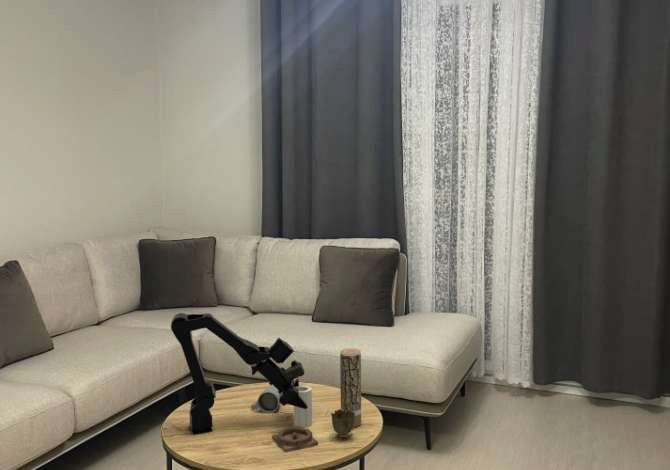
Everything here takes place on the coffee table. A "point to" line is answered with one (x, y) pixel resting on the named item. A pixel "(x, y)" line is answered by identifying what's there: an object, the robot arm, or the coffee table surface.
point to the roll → (304, 415)
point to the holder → (294, 438)
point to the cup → (343, 422)
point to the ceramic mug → (267, 400)
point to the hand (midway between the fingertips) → (306, 404)
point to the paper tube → (351, 382)
